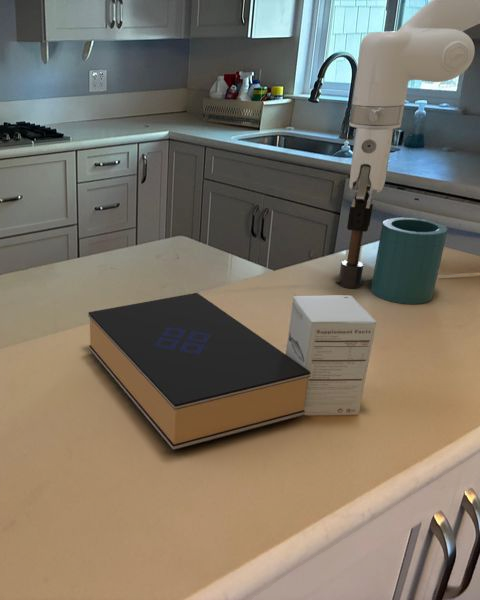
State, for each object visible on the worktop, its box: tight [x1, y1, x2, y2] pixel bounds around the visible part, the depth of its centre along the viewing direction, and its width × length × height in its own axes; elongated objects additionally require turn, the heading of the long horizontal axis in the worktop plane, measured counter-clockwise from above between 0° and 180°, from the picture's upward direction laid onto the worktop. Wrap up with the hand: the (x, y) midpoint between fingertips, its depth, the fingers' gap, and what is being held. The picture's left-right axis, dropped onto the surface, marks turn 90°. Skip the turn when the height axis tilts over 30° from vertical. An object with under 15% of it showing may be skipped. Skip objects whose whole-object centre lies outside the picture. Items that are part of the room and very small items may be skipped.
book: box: [87, 292, 311, 451], centre depth 79 cm, size 17×25×7 cm
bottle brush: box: [337, 230, 364, 289], centre depth 106 cm, size 4×4×16 cm
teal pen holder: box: [370, 217, 449, 305], centre depth 103 cm, size 9×9×12 cm
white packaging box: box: [285, 294, 377, 416], centre depth 73 cm, size 7×7×13 cm
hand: (358, 227), depth 105 cm, fingers closed on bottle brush
